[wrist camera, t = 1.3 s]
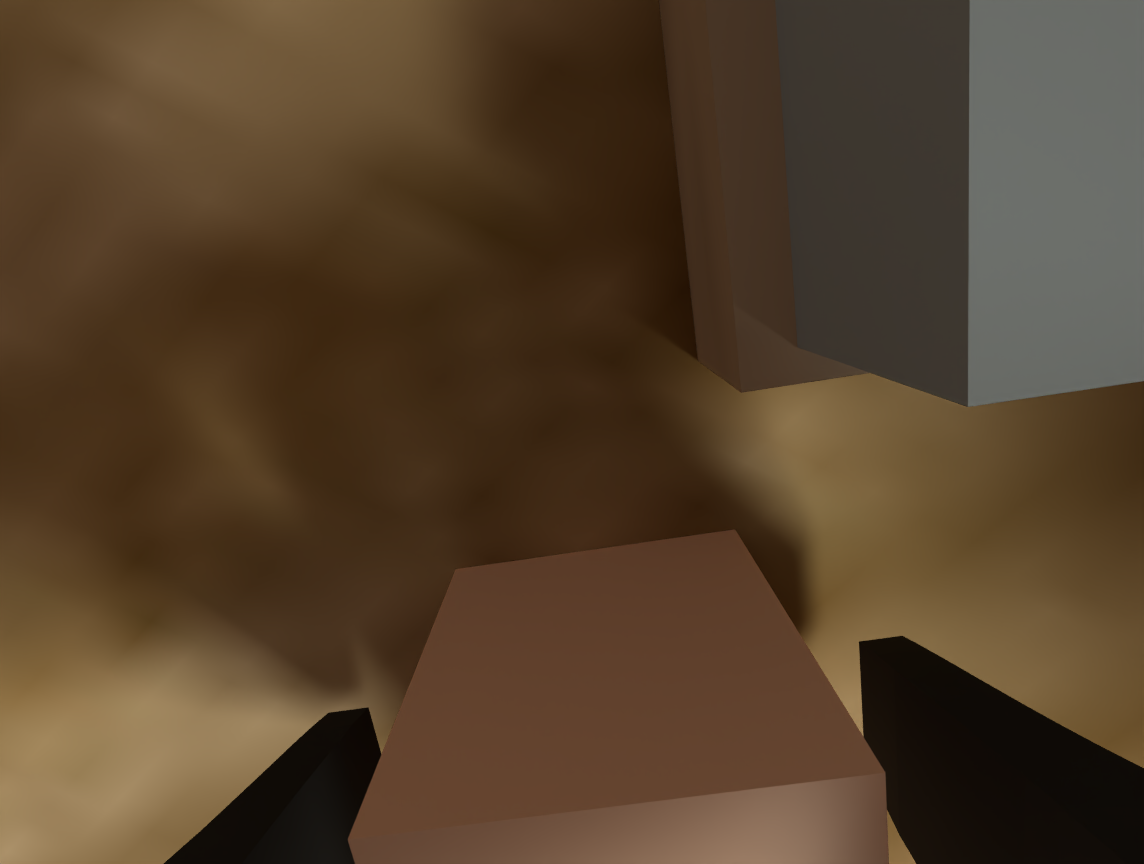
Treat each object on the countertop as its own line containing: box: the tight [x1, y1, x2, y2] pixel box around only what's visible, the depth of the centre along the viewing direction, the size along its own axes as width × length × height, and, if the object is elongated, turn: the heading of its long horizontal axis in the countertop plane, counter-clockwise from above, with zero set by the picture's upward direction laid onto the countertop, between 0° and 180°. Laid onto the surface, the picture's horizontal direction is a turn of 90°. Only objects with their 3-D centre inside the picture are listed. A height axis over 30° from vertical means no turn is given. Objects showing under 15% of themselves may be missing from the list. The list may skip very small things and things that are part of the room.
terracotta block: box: [348, 529, 889, 864], centre depth 8 cm, size 4×4×5 cm
